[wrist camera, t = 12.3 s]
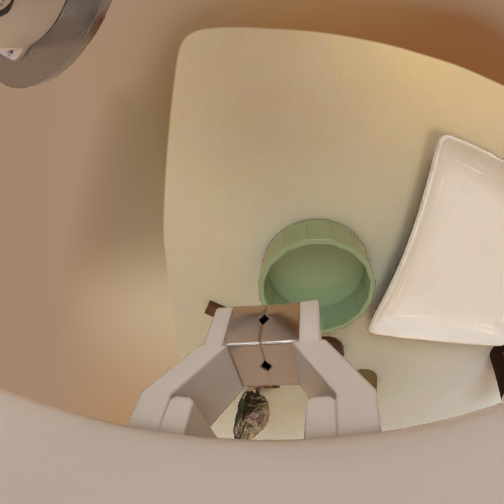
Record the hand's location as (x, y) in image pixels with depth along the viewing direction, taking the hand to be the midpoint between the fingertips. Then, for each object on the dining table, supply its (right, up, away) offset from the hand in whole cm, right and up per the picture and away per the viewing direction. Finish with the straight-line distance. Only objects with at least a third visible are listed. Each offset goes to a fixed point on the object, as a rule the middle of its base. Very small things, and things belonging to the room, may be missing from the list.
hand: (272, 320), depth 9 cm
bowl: (+7, 0, +30) cm, 31 cm away
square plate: (+30, +2, +25) cm, 39 cm away
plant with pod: (+1, -19, +42) cm, 46 cm away
